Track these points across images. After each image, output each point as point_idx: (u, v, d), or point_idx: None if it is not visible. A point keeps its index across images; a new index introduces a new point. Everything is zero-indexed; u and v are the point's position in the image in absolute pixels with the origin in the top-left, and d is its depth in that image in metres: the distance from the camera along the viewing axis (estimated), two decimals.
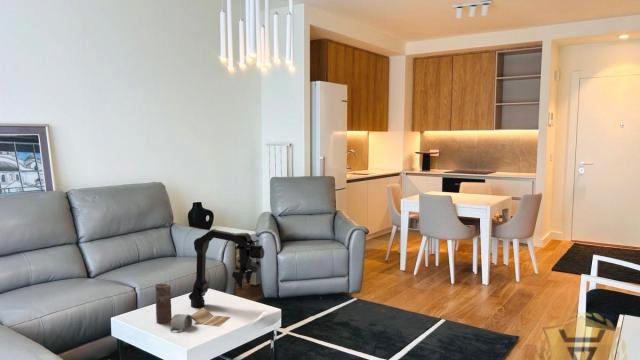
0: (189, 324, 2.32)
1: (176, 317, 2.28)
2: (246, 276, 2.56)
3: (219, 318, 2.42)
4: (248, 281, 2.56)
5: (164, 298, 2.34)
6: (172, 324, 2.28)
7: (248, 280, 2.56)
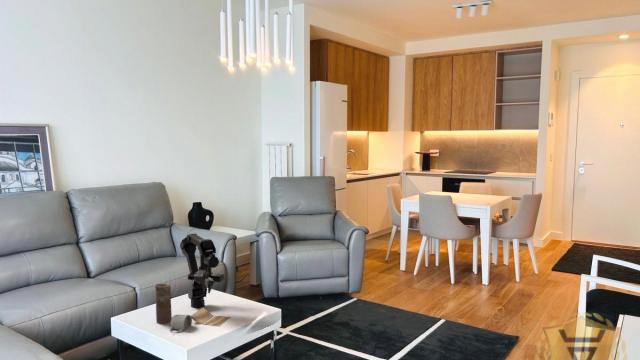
0: (189, 324, 2.32)
1: (176, 318, 2.28)
2: None
3: (219, 318, 2.42)
4: None
5: (164, 298, 2.34)
6: (172, 324, 2.27)
7: None
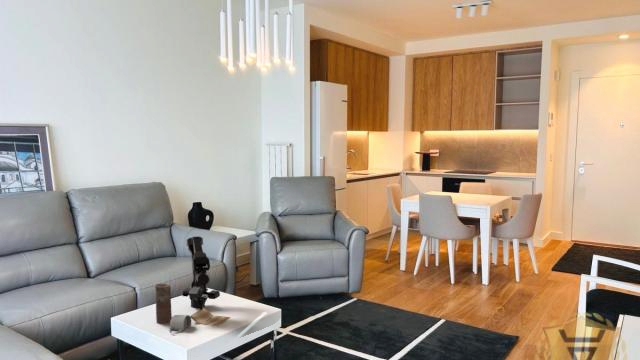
0: (188, 325, 2.32)
1: (175, 318, 2.28)
2: None
3: (219, 318, 2.42)
4: None
5: (164, 298, 2.34)
6: (171, 325, 2.27)
7: None
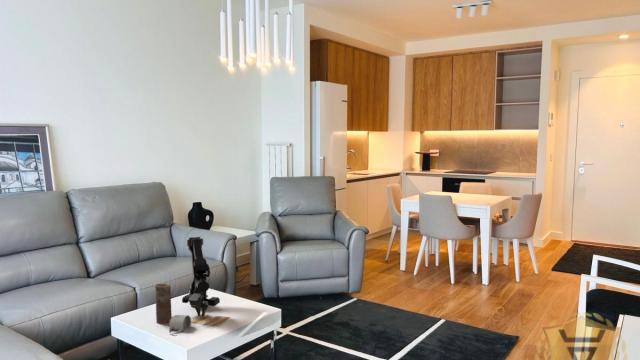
0: (188, 325, 2.31)
1: (175, 318, 2.27)
2: None
3: (219, 318, 2.42)
4: None
5: (164, 298, 2.34)
6: (171, 325, 2.27)
7: None
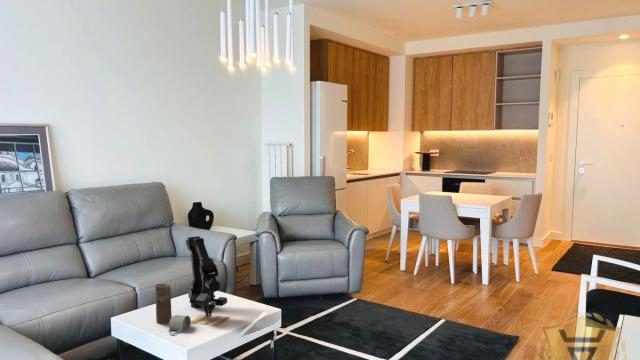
0: (188, 325, 2.31)
1: (174, 318, 2.27)
2: None
3: (219, 318, 2.42)
4: None
5: (164, 298, 2.34)
6: (170, 325, 2.26)
7: None
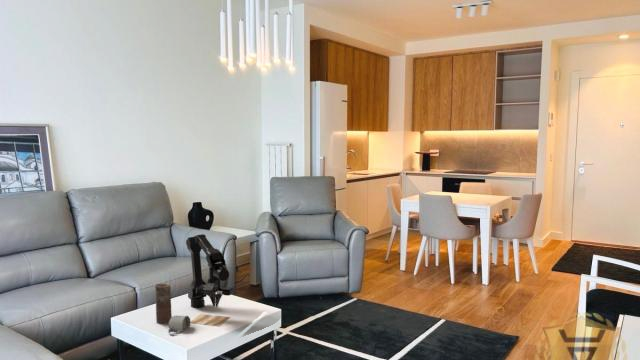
0: (187, 325, 2.31)
1: (174, 319, 2.27)
2: None
3: (219, 318, 2.42)
4: None
5: (164, 298, 2.34)
6: (170, 325, 2.26)
7: None
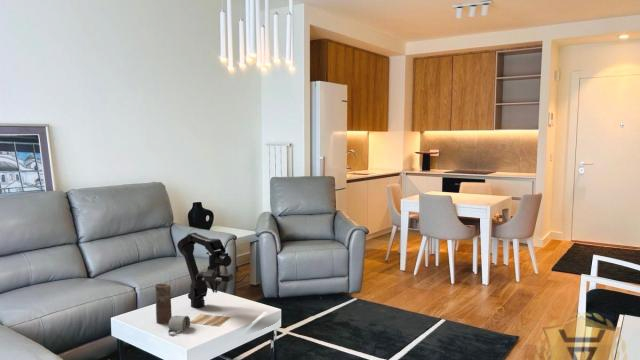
0: (187, 325, 2.31)
1: (174, 319, 2.26)
2: None
3: (219, 318, 2.42)
4: None
5: (164, 298, 2.34)
6: (170, 325, 2.26)
7: None
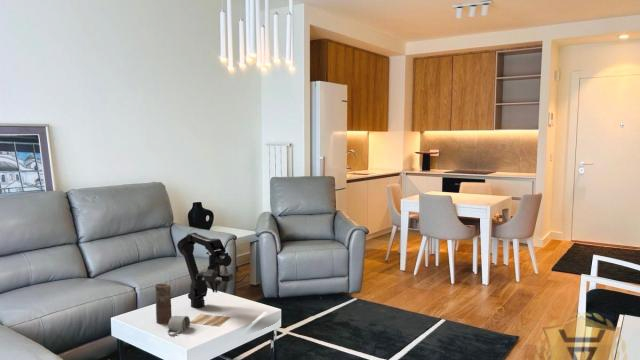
0: (187, 326, 2.30)
1: (174, 319, 2.26)
2: None
3: (219, 318, 2.42)
4: None
5: (164, 298, 2.34)
6: (169, 326, 2.25)
7: None
